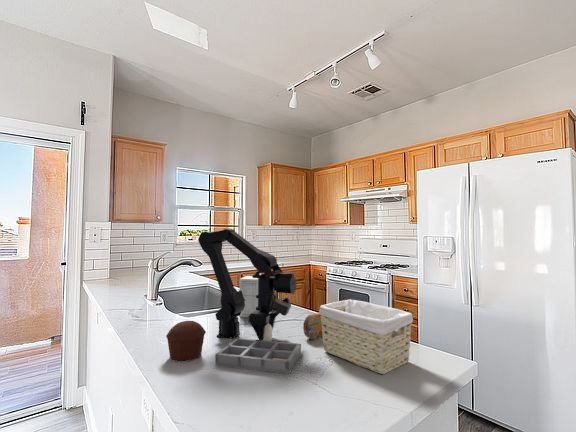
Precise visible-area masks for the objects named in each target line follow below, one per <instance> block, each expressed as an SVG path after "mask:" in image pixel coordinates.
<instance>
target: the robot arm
mask: <svg viewBox="0 0 576 432" xmlns="http://www.w3.org/2000/svg"><path fill="white" fill-rule="evenodd" d="M223 242H228V243H229V244H230V245H232V247H234V248H235V249H237V250H238V251H239V252H240V253H242V254H243V255H244V256H246V257H247V258H248V259H249V260H250V262H251V264H252V266H253V267H254V268H255V270H256V271H255V273H254V274H253V275H251V276H252V278H258V295H256V298H258V306H257V307H256V310H257V311H254V312H252V313H251V314H250V315H249V316H248V317H247V322H248V323H249V325H251V326H252V328H253V330H254V332H255V335H256V337H257V338H258V339H257V340H263V339H264V333H265V326H266V325H267V324H268V323H269V324H270V325H271V326H272V331H273V329H274V324H275V322H276V318H277V317H278V315H280V314H281V315H282V316H284V317H286V316H287V314H289V312H290V309H291V307H292V303H291V302H290V301H291V300H290V298H288V297H284V298H283V299H281V298H280V299H279V298H278V294H277V293H280V294H292V295H293V294H295V292H296V290H297V280H296V277H295V273H294V272H288V273H287V272H283V270H282V269H281V267H280V266H279V264H278V261H277V258H276V257H275V255H273V254H271V253H270V252H266V251H264V250H262V249H259V248H257V247H256V246H255V245H254V244H252V243H251V242H250V241H249V240H247V239H246V238H245V237H243V236H241V235H240V234H239V233H237V231H235V229H233V228H224V229H223V230H221V229H220V230H217V231H202V232H201V233H200V235H199V237H198V243H199V246H200V247H201V250H202V251H203V252H204V253H205V254H206V255H207V256H208V258H209V260H210V261H209V262H210V264H211V267H212V269H213V271H214V273H213V274H215V275H214V276H215V279H216V281H217V284H218V287H219V289H220V292H221V294H220V295H221V296H220V307H221V308H220V309H219V310H218V311H217V312H216V313H215V319H216V320H217V321H218V334H216V337H217V338H225V339H234V338H235V337H237V336H238V335H239V334H241V331H240V321H239V317H240V314H241V311H243V309H244V307H245V302H244V301H245V299H244V297H243V294H242V291H240V290H237V289H236V288H235V286H234V284H233V281H232V277H231V275H230V272H229V268H228V267H227V264H226V261H225V258H224V255H223V252H222V250H223ZM275 292H276V293H275Z"/></svg>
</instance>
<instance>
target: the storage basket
mask: <svg viewBox="0 0 576 432" xmlns="http://www.w3.org/2000/svg"><path fill="white" fill-rule="evenodd" d="M318 313H319V314H320V315H321V323H322V332H323V333H322V335H323V337H322V343H323V350H324V351H325V352H326V353H328V354H331V355H333V356H335V357H338V358H340V359H342V360H346V361H348V362H350V363H353V364H354V365H356V366H358V367H361V368H362V367H363V368H364V369H368V370H370V371H371V372H375V373H378V374H379V375H380V374H381V375H385V374H387V373H389V372H392V371H393V370H396V369H397V368H399V367H401V366H402V365H403V366H404V365H406V364H407V363H408V362H409V360H410V349H411V348H410V347H411V340H412V339H411V338H412V337H411V334H412V333H411V330H412V327H411V326H412V323H413V322H414V319H413V314H412V312H408V311H405V310H403V309H398V308H393V307H390V306H385V305H380V304H376V303H373V302H372V303H371V302H368V301H361V300H356V299H351V298H349V299H344V300H339V301H338V300H337V301H334V302H330V303H327V304H321V305H320V306H319V312H318ZM325 326H326V327H325Z"/></svg>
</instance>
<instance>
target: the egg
mask: <svg viewBox="0 0 576 432" xmlns="http://www.w3.org/2000/svg"><path fill="white" fill-rule="evenodd" d="M263 340H265V341H273V330H272V326H271V325H270V324H269V323H268V324H267V325H266V326H265V333H264V339H263Z"/></svg>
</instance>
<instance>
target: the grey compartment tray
mask: <svg viewBox="0 0 576 432" xmlns="http://www.w3.org/2000/svg"><path fill="white" fill-rule="evenodd" d="M301 355H302V344H301V343H296V342H295V343H293V342H287V341H285V342H284V341H283V342H282V341H273V340H272V341H265V340H259V339H256V338H255V339H254V338H243V337H236V338H235V339H233V340H232V341H231V342H229V343H228V344H226V345H225V346H224V347H223V348H222V349H220V350H219V351H218V352H216V353H215V356H214V357H215V363H214V364H215V366H219V367H227V368H237V369H242V370H243V369H245V370H252V371H254V370H255V371H259V372H267V373H276V374H283V375H285V374H286V375H289V374H290V373H291V371H292V369H293V368H294V366H295V364H296V363H297V361H298V360H299V357H301Z"/></svg>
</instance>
